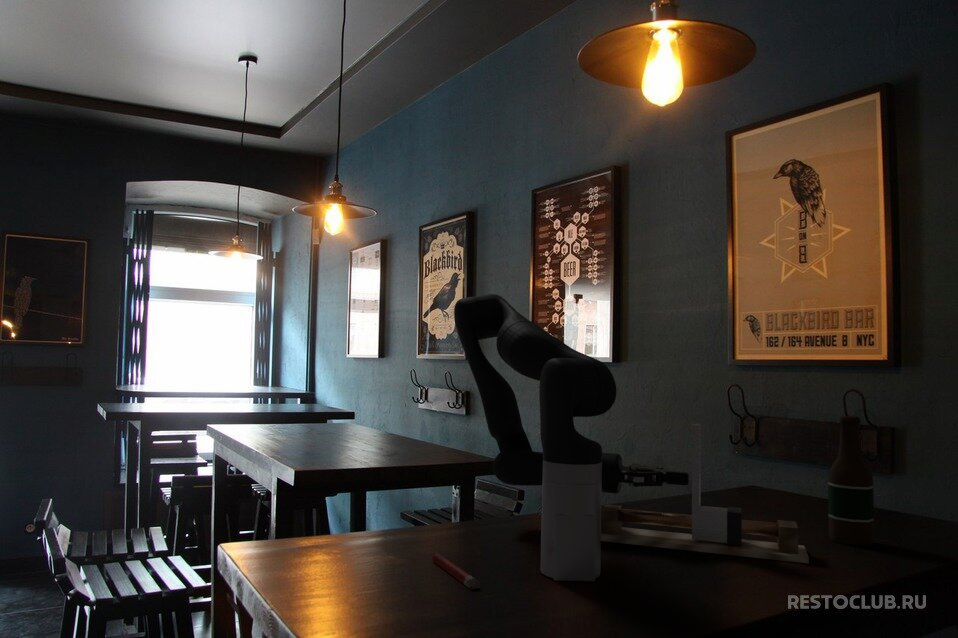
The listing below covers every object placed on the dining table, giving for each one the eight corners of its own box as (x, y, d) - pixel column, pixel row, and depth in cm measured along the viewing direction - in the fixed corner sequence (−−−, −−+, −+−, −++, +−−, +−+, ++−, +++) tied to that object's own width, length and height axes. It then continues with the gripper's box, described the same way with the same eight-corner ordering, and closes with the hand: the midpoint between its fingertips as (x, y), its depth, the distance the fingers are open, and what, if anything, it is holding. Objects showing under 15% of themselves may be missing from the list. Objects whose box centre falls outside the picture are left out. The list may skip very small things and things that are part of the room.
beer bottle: (819, 538, 139) (818, 414, 141) (849, 536, 142) (848, 415, 143) (853, 547, 132) (851, 417, 133) (883, 545, 134) (882, 417, 136)
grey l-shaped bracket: (691, 539, 128) (692, 425, 129) (693, 532, 133) (694, 423, 135) (727, 543, 126) (727, 427, 127) (727, 536, 131) (727, 425, 133)
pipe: (607, 522, 135) (607, 508, 135) (609, 519, 137) (610, 505, 137) (791, 540, 124) (791, 525, 124) (790, 537, 126) (790, 522, 126)
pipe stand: (590, 539, 132) (591, 510, 133) (599, 530, 141) (600, 502, 141) (808, 563, 120) (808, 530, 120) (804, 551, 128) (804, 520, 128)
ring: (727, 544, 126) (727, 512, 126) (727, 537, 131) (727, 506, 131) (741, 545, 125) (741, 513, 125) (741, 539, 130) (741, 508, 131)
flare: (469, 592, 100) (469, 579, 101) (431, 564, 114) (432, 553, 114) (479, 590, 101) (480, 578, 101) (441, 563, 115) (442, 552, 115)
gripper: (589, 455, 131) (686, 462, 125) (602, 449, 144) (691, 454, 138) (588, 496, 131) (685, 505, 125) (601, 486, 143) (690, 494, 137)
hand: (688, 478), depth 131 cm, fingers closed
